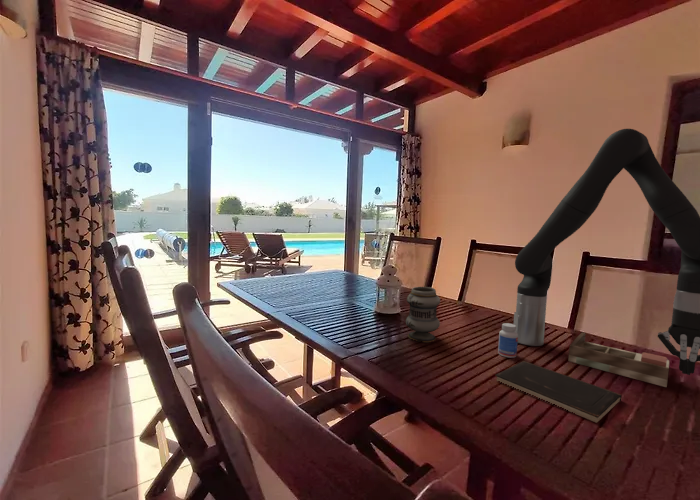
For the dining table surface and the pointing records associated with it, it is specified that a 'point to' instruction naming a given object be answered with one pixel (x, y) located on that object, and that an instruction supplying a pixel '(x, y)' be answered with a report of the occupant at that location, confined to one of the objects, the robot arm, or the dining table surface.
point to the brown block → (654, 359)
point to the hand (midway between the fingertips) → (686, 373)
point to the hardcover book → (560, 390)
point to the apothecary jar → (422, 313)
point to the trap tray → (616, 361)
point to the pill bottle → (508, 341)
